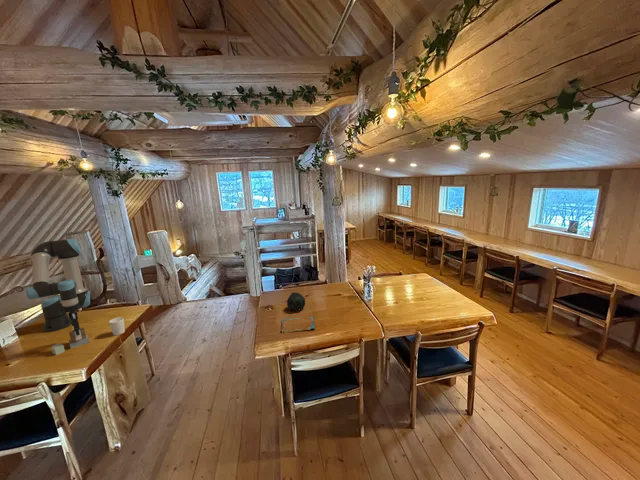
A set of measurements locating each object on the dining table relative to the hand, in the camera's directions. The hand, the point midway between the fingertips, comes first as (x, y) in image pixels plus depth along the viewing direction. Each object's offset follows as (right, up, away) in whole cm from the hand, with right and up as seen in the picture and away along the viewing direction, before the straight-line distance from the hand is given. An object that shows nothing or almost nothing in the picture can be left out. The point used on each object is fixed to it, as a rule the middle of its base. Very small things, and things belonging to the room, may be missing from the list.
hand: (78, 336), depth 167 cm
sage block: (-5, -7, -8) cm, 11 cm away
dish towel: (+143, +2, +14) cm, 144 cm away
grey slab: (0, -5, +1) cm, 5 cm away
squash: (+140, +8, +40) cm, 145 cm away
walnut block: (0, -2, 0) cm, 2 cm away
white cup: (+17, -2, +12) cm, 21 cm away
